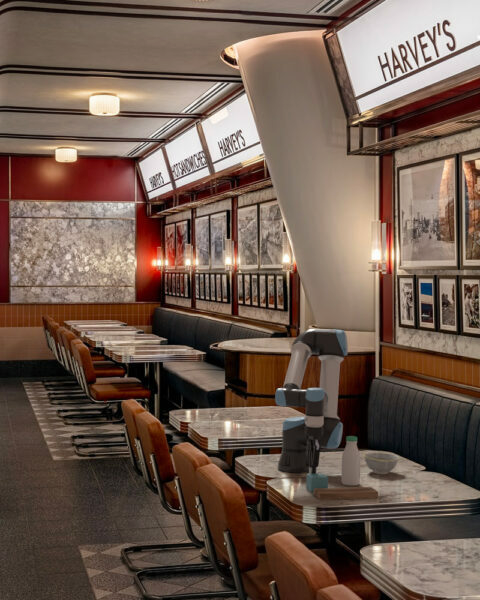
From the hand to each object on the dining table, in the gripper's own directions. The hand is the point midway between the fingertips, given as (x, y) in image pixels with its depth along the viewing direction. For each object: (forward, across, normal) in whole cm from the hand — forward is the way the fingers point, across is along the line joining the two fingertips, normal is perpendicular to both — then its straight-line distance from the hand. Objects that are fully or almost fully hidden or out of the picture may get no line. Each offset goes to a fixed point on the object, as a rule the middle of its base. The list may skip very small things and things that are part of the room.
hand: (312, 482), depth 365 cm
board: (+2, +17, +9) cm, 19 cm away
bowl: (+2, -22, +39) cm, 45 cm away
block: (+2, +6, 0) cm, 6 cm away
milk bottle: (+2, -3, +18) cm, 18 cm away
